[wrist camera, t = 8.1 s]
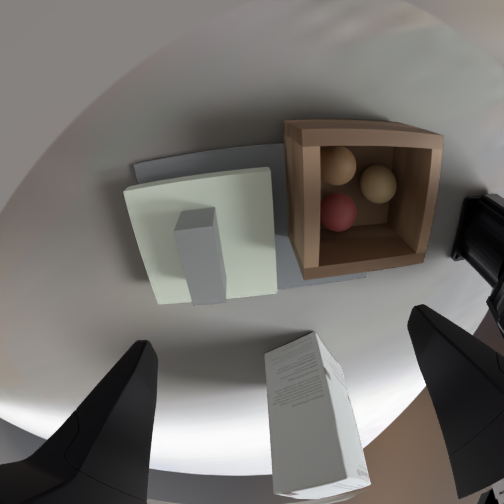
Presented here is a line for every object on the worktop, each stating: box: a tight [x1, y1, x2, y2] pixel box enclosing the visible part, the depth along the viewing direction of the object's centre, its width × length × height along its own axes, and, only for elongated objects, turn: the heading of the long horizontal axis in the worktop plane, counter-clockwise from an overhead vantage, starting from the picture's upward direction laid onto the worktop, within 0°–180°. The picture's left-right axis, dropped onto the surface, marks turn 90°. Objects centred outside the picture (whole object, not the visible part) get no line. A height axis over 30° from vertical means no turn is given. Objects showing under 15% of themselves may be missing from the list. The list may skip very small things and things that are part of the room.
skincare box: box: [264, 332, 371, 499], centre depth 21 cm, size 8×6×15 cm
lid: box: [123, 167, 277, 306], centre depth 17 cm, size 9×9×4 cm
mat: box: [134, 143, 367, 289], centre depth 19 cm, size 11×16×1 cm
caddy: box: [283, 119, 443, 280], centre depth 15 cm, size 8×8×5 cm
